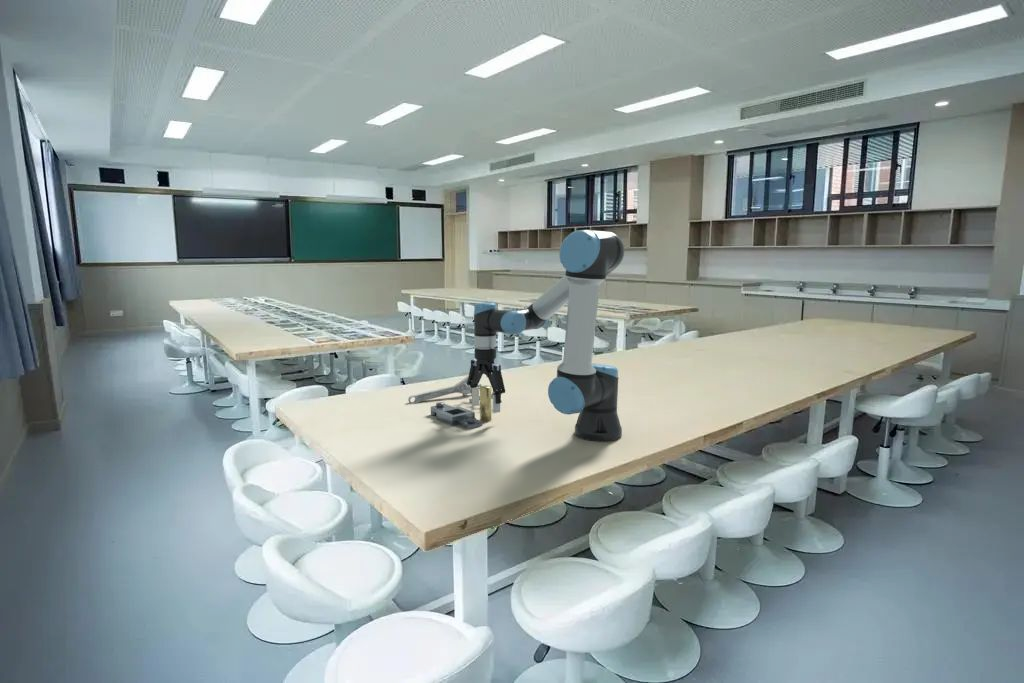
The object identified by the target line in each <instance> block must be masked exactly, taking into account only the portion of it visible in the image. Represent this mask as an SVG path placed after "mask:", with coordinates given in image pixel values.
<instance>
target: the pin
mask: <svg viewBox="0 0 1024 683" xmlns="http://www.w3.org/2000/svg"><path fill="white" fill-rule="evenodd" d="M491 395H492V386H491V385H482V386H480V389H479V396H480V400H479V420H480V421H482V423H483V422H484V423H487V422H488V423H489V422H491V421H492V419H493V418H492V399H491Z"/></svg>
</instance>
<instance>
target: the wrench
mask: <svg viewBox="0 0 1024 683" xmlns="http://www.w3.org/2000/svg"><path fill="white" fill-rule="evenodd" d="M468 376H469V375H467V376H465V378H463V379H462V380H461V381H459V382H457V383H456V384H454V385H451V386H447V387H442V388H437V389H433V390H430V391H425V392H422V393H416V394H412V395H410V396H409V397H408V398H407V399H408V400H407V401H408V402H409V404H416V403H421V402H425V401H428V400H433V399H437V398H440V397H444V396H448V395H451V394H457V393H458V394H462V397H467V396H468V395H469V394H470V395H471V393H468V391H470V390H466V391H465V393H463V390H465V389H466V386H465V385H464V383H466V384H467V381H468ZM471 381H472V380H471ZM467 386H470V385H468V384H467ZM470 389H471V388H470ZM412 398H414V400H413V401H411V399H412Z"/></svg>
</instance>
